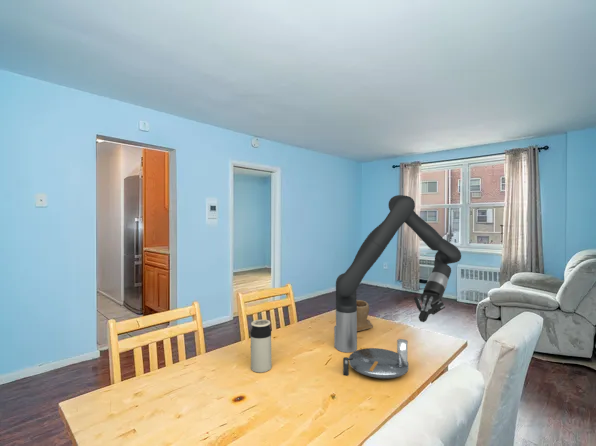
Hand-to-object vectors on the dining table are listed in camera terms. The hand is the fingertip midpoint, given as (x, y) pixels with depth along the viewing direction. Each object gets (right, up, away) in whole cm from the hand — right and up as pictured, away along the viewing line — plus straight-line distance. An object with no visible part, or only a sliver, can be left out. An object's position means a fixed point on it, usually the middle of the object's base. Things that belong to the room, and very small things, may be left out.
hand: (421, 320), depth 126 cm
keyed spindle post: (-21, -18, -6) cm, 28 cm away
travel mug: (-63, -18, -2) cm, 66 cm away
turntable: (-18, -15, -4) cm, 24 cm away
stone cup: (-17, -17, +40) cm, 46 cm away
